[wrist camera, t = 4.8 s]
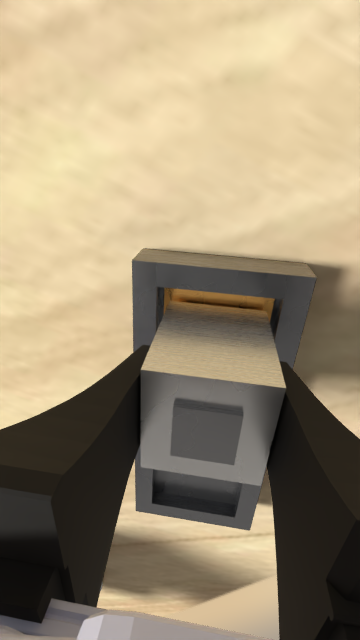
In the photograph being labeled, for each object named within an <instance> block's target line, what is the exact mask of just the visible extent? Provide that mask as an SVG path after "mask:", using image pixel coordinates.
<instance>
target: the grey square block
mask: <svg viewBox="0 0 360 640" xmlns="http://www.w3.org/2000/svg"><path fill="white" fill-rule="evenodd" d="M285 391H286V385H285V382H284V378H283V374H282V370H281V366H280V362H279V358H278V354H277V350H276V346H275V342H274V338H273V334H272V331H271V327H270V323H269V319H268V315H267V311H261V310H252V309H242V308H233V307H224V306H214V305H205V304H195V303H186V302H176V301H170V302H169V304H168V306H167V309H166V311H165V313H164V316H163V318H162V320H161V323H160V325H159V328H158V330H157V332H156V335H155V337H154V339H153V342H152V344H151V346H150V349H149V351H148V353H147V356H146V358H145V361H144V363H143V365H142V368H141V467H144V468H150V469H156V470H163V471H169V472H175V473H182V474H188V475H194V476H201V477H207V478H213V479H220V480H226V481H232V482H239V483H245V484H251V485H258V486H261V484H262V480H263V476H264V472H265V468H266V464H267V461H268V457H269V453H270V449H271V445H272V441H273V437H274V433H275V430H276V426H277V422H278V418H279V414H280V410H281V406H282V402H283V399H284V395H285Z"/></svg>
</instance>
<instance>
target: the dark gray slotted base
mask: <svg viewBox="0 0 360 640" xmlns="http://www.w3.org/2000/svg"><path fill="white" fill-rule="evenodd" d="M316 279H317V277H316V276H315V275H314V273H313V272H312V270H311V269H310V268H309V266H308V265H307V264H306V263H296V262H285V261H274V260H263V259H252V258H241V257H230V256H219V255H208V254H197V253H186V252H175V251H164V250H153V249H142V250H141V251H140V252H139V253H138V255H137V256H136V257H135V258H134V259H133V260H132V283H133V351H134V352H135V351H136V350H137V349H138V348H139V347H141V346H142V345H149V346H151V344H152V342H153V339H154V337H155V335H156V332H157V330H158V328H159V325H160V323H161V320H162V318H163V316H164V313H165V311H166V309H167V306H168V304H169V302H170V301H176V302H186V303H195V304H205V305H214V306H224V307H233V308H242V309H252V310H261V311H267V315H268V319H269V323H270V327H271V331H272V334H273V338H274V342H275V346H276V350H277V354H278V358H279V361H282V362H287V363H288V365H289V366H290V367H291V368H292V369H293V366H294V362H295V358H296V354H297V350H298V347H299V343H300V339H301V335H302V332H303V328H304V324H305V320H306V317H307V313H308V309H309V305H310V301H311V298H312V294H313V290H314V286H315V283H316ZM266 467H267V464H266ZM265 471H266V468H265ZM264 475H265V472H264ZM263 479H264V476H263ZM262 482H263V480H262ZM261 486H262V484H261ZM261 486H258V485H251V484H245V483H239V482H232V481H226V480H220V479H213V478H207V477H201V476H194V475H188V474H182V473H175V472H169V471H163V470H156V469H150V468H144V467H141V444H140V447H139V449H138V452H137V454H136V457H135V488H136V511H139V512H145V513H151V514H157V515H162V516H168V517H174V518H180V519H186V520H192V521H197V522H203V523H209V524H215V525H221V526H227V527H232V528H238V529H244V530H250V528H251V524H252V520H253V516H254V513H255V509H256V505H257V501H258V497H259V494H260V490H261Z"/></svg>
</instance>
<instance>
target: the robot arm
mask: <svg viewBox="0 0 360 640" xmlns="http://www.w3.org/2000/svg"><path fill="white" fill-rule="evenodd" d="M149 349H150V346H149V345H142V346H141V347H139V348H138V349H137V350H136V351H135V352H134V353H132V354H131V355H130V356H129V357H128V358H127V359H126V360H124V361H123V362H122V363H121V364H120V365H118V366H117V367H116V368H115V369H113V370H112V371H111V372H110V373H109V374H107V375H106V376H105V377H103V378H102V379H100V380H99V381H98V382H96V383H95V384H93V385H92V386H91V387H89V388H88V389H86V390H84V391H83V392H81V393H79V394H78V395H76V396H74V397H73V398H71V399H69V400H67V401H65V402H63V403H61V404H59V405H57V406H55V407H53V408H51V409H49V410H47V411H45V412H43V413H41V414H39V415H37V416H34V417H32V418H30V419H27V420H25V421H22V422H20V423H17V424H14V425H12V426H9V427H6V428H4V429H1V430H0V640H273V639H268V638H263V637H258V636H253V635H248V634H243V633H238V632H233V631H228V630H223V629H218V628H214V627H209V626H204V625H199V624H194V623H189V622H184V621H179V620H174V619H169V618H164V617H159V616H155V615H150V614H145V613H140V612H133V611H120V610H106V609H101V608H96V607H97V602H98V598H99V594H100V590H101V589H102V586H103V582H102V581H103V576H104V572H105V568H106V564H107V559H108V555H109V551H110V547H111V543H112V539H113V535H114V531H115V527H116V523H117V519H118V515H119V511H120V507H121V503H122V500H123V496H124V492H125V489H126V485H127V481H128V477H129V474H130V471H131V468H132V465H133V462H134V460H135V457H136V454H137V452H138V449H139V447H140V444H141V368H142V365H143V363H144V361H145V358H146V356H147V353H148V351H149ZM279 362H280V366H281V370H282V374H283V378H284V382H285V385H286V391H285V395H284V399H283V402H282V406H281V410H280V414H279V418H278V422H277V426H276V430H275V433H274V437H273V441H272V445H271V449H270V453H269V457H268V461H267V469H268V475H269V480H270V486H271V494H272V502H273V515H274V528H275V544H276V561H277V581H278V602H279V634H280V640H360V439H359V438H358V437H357V436H355V435H354V434H353V433H352V432H351V431H350V430H348V429H347V428H346V427H345V426H344V425H343V424H342V423H341V422H340V421H339V420H338V419H337V418H336V417H335V416H334V415H333V414H332V413H331V412H330V411H329V410H328V409H327V408H326V407H325V406H324V405H323V404H322V403H321V402H320V401H319V400H318V399H317V398H316V397H315V396H314V394H313V393H312V392H311V391H310V390H309V389H308V388H307V386H306V385H305V384H304V383H303V382H302V380H301V379H300V378H299V377H298V376H297V374H296V373H295V372H294V371H293V369H292V368H291V367H290V366H289V365H288V363H287V362H282V361H279Z"/></svg>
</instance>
